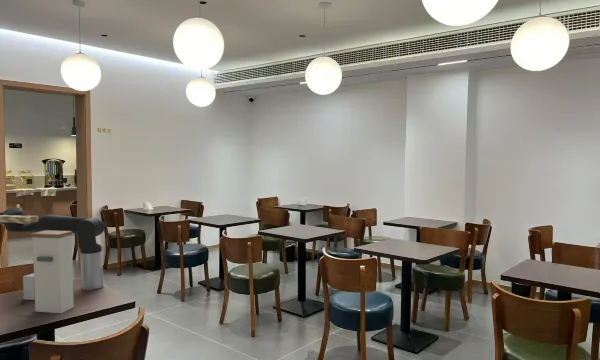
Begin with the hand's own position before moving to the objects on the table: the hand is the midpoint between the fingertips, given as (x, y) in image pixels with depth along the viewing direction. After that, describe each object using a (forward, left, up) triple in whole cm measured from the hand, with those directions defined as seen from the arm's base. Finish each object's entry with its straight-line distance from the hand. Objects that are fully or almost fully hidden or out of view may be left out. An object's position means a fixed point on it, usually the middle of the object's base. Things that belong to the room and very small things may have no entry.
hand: (0, 214), depth 179 cm
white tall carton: (-19, +16, -39) cm, 46 cm away
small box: (-11, -6, -39) cm, 41 cm away
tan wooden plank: (-4, +3, -3) cm, 6 cm away
